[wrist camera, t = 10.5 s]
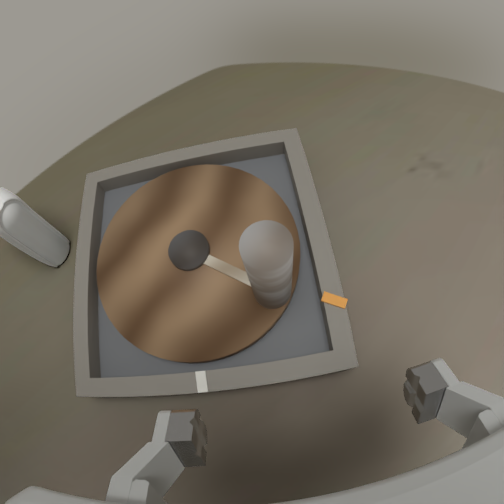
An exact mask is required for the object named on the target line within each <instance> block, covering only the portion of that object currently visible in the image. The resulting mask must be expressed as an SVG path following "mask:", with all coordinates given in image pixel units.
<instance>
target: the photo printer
mask: <svg viewBox="0 0 504 504" xmlns="http://www.w3.org/2000/svg"><path fill="white" fill-rule="evenodd" d="M0 237H2V238H3V239H4V240H6V241H7V242H9V243H10V244H12V245H13V246H15V247H16V248H18V249H20V250H21V251H23V252H24V253H26V254H28V255H29V256H31V257H33V258H35V259H37V260H38V261H40V262H42V263H45V264H47V265H49V266H53V267H57V266H58V265H61V264H62V263H63V262H64V261H65V259H66V257H67V255H68V253H69V249H70V245H69V242H70V241H69V240H68V239H67V238H66V237H65V236H64V235H63V234H62V233H60V232H59V231H58V230H57V229H56V228H54V227H53V226H52V225H51V224H49V223H48V222H47V221H46V220H45V219H43V218H42V217H41V216H40V215H39V214H37V213H36V212H35V211H34V210H33V209H32V208H30V207H29V206H28V205H27V204H26V203H25V202H24V201H23V200H22V199H20V198H19V197H18V196H17V195H16V194H14V193H12V192H11V191H9V190H7V189H5V188H3V187H1V186H0Z"/></svg>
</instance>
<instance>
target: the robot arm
mask: <svg viewBox="0 0 504 504" xmlns="http://www.w3.org/2000/svg"><path fill="white" fill-rule="evenodd" d="M406 377H407V381H406V382H405V383H404V388H403V391H404V397H405V400H406V402H407V404H408V405H409V406H411V407H413V410H412V414H413V416H414V418H415V420H416V421H417V423H418V424H419V423H422V422H425V421H428V420H431V419H434V418H436V419H437V420H439V421H441V422H442V423H444V424H445V425H447V426H448V427H450V428H452V429H453V430H455V431H456V432H458V433H460V434H461V435H463V436H464V437H466V438H467V440H466V442H465V444H464V445H463V447H462V449H461V450H459V451H457V452H454V453H452V454H450V455H448V456H445V457H443V458H441V459H438V460H436V461H434V462H431V463H429V464H426V465H424V466H421V467H418V468H416V469H413V470H410V471H407V472H405V473H402V474H399V475H396V476H393V477H390V478H387V479H383V480H380V481H377V482H373V483H370V484H366V485H363V486H359V487H355V488H351V489H347V490H343V491H339V492H335V493H330V494H325V495H320V496H315V497H310V498H304V499H299V500H292V501H286V502H278V503H270V504H504V398H503V397H501V396H498V395H496V394H493V393H491V392H488V391H486V390H483V389H481V388H478V387H476V386H473V385H471V384H468V383H466V382H464V381H462V382H459V380H458V379H457V378H456V376H455V375H454V373H453V372H452V371H451V369H450V368H449V367H448V365H447V364H446V363H445V361H444V360H443V359H442V358H438V359H435V360H432V361H430V362H426V363H423V364H420V365H417V366H414V367H411V368H408V369H407V371H406ZM206 444H207V430H206V426H205V424H204V422H203V421H201V420H200V413H199V411H198V409H189V410H165V411H160V412H159V413H158V415H157V420H156V424H155V429H154V433H153V437H152V442H148V443H147V444H146V445H145V446H144V447H143V448H142V449H140V450H139V451H138V452H137V453H136V454H135V455H134V456H133V457H132V458H131V459H130V460H129V461H128V462H127V463H126V464H125V465H123V466H122V467H121V468H120V469H119V470H118V471H117V472H116V473H115V474H114V475H113V476H112V477H111V481H110V484H109V488H108V492H107V496H106V500H105V501H103V500H97V499H91V498H86V497H80V496H76V495H71V494H66V493H62V492H58V491H54V490H50V489H46V488H43V487H39V486H29V487H27V488H25V489H24V490H22V491H21V492H19V493H17V494H16V495H15V496H13V497H12V498H10V499H9V500H7V501H6V502H5V504H168V503H167V502H166V501H165V500H164V499H163V498H162V497H163V496H164V495H165V494H166V492H167V491H168V490H169V488H170V487H171V486H172V484H173V483H174V482H175V481H176V479H177V478H178V477H179V475H180V474H181V473H182V471H183V470H184V469H185V467H193V466H206V450H205V449H204V446H205V445H206Z"/></svg>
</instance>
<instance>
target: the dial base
mask: <svg viewBox="0 0 504 504" xmlns="http://www.w3.org/2000/svg"><path fill="white" fill-rule="evenodd" d="M205 164H209V165H222V166H229V167H233V168H236V169H240V170H243V171H245V172H248V173H250V174H252V175H254V176H256V177H257V178H259V179H261V180H262V181H264V182H265V183H266V184H268V185H269V186H270V187H271V188H273V190H274V191H275V192H276V193H277V194H278V195H279V196H280V197H281V198H282V200H283V201H284V202H285V204H286V205H287V207H288V208H289V210H290V212H291V214H292V216H293V218H294V221H295V224H296V227H297V230H298V235H299V241H300V265H299V274H298V280H297V284H296V287H295V291H294V293H293V296H292V298H291V301H290V303H289V305H288V306H287V308H286V310H285V312H284V313H283V315H282V317H281V318H280V319H279V320H278V322H277V323H276V324H275V325H274V327H273V328H272V329H271V330H270V331H269V332H268V333H267V334H266V335H265V336H264V337H262V338H261V339H260V340H259V341H257V342H256V343H254V344H253V345H252V346H250V347H249V348H247V349H245V350H243V351H241V352H239V353H238V354H235V355H233V356H230V357H227V358H225V359H221V360H217V361H212V362H207V363H180V362H175V361H170V360H166V359H162V358H159V357H156V356H153V355H151V354H148V353H146V352H144V351H142V350H141V349H139V348H137V347H136V346H134V345H133V344H132V343H130V342H129V341H128V340H126V339H125V338H124V337H123V336H122V335H121V334H120V333H119V331H118V330H117V329H116V328H115V327H114V325H113V324H112V322H111V321H110V319H109V318H108V316H107V314H106V312H105V310H104V308H103V305H102V302H101V299H100V296H99V291H98V286H97V273H96V270H97V258H98V253H99V249H100V245H101V242H102V239H103V236H104V234H105V232H106V229H107V227H108V225H109V223H110V222H111V220H112V218H113V217H114V215H115V214H116V212H117V211H118V210H119V208H120V207H121V206H122V205H123V203H124V202H125V201H126V200H127V199H128V198H129V197H130V196H131V195H132V194H133V193H135V192H136V191H137V190H138V189H139V188H141V187H142V186H144V185H145V184H146V183H148V182H149V181H151V180H153V179H155V178H157V177H158V176H160V175H163V174H165V173H168V172H170V171H173V170H176V169H179V168H183V167H188V166H193V165H205ZM347 300H348V299H346V298H344V294H343V290H342V286H341V282H340V278H339V273H338V269H337V265H336V261H335V257H334V254H333V250H332V246H331V242H330V238H329V234H328V231H327V227H326V223H325V220H324V216H323V213H322V209H321V206H320V202H319V199H318V195H317V192H316V188H315V185H314V182H313V178H312V175H311V172H310V168H309V165H308V162H307V159H306V156H305V152H304V149H303V146H302V143H301V140H300V137H299V134H298V131H297V128H293V129H286V130H279V131H272V132H266V133H260V134H253V135H248V136H242V137H236V138H231V139H225V140H220V141H215V142H210V143H205V144H200V145H196V146H191V147H187V148H182V149H178V150H173V151H169V152H165V153H161V154H157V155H153V156H149V157H145V158H141V159H137V160H134V161H130V162H126V163H123V164H119V165H116V166H112V167H109V168H105V169H102V170H99V171H95V172H92V173H89V174H87V176H86V181H85V188H84V194H83V200H82V207H81V215H80V223H79V232H78V241H77V252H76V265H75V281H74V310H73V340H74V368H75V384H76V396H78V397H140V396H163V395H179V394H192V393H203V392H213V391H223V390H231V389H240V388H247V387H254V386H261V385H268V384H274V383H281V382H287V381H292V380H298V379H303V378H309V377H314V376H319V375H324V374H329V373H333V372H338V371H342V370H347V369H351V368H355V367H359V366H358V360H357V355H356V350H355V345H354V340H353V335H352V331H351V326H350V321H349V317H348V312H347V308H346V303H347Z"/></svg>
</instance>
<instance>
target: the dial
mask: <svg viewBox="0 0 504 504" xmlns="http://www.w3.org/2000/svg"><path fill="white" fill-rule="evenodd" d="M299 265H300V241H299V235H298V230H297V227H296V224H295V221H294V218H293V216H292V214H291V212H290V210H289V208H288V207H287V205H286V204H285V202H284V201H283V200H282V198H281V197H280V196H279V195H278V194H277V193H276V192H275V191H274V190H273V188H271V187H270V186H269V185H268V184H266V183H265V182H264V181H262V180H261V179H259V178H257V177H256V176H254V175H252V174H250V173H248V172H245V171H243V170H240V169H236V168H233V167H229V166H222V165H209V164H205V165H193V166H188V167H183V168H179V169H176V170H173V171H170V172H168V173H165V174H163V175H160V176H158V177H157V178H155V179H153V180H151V181H149V182H148V183H146V184H145V185H144V186H142V187H141V188H139V189H138V190H137V191H136V192H135V193H133V194H132V195H131V196H130V197H129V198H128V199H127V200H126V201H125V202H124V203H123V205H122V206H121V207H120V208H119V210H118V211H117V212H116V214H115V215H114V217H113V218H112V220H111V222H110V223H109V225H108V227H107V229H106V232H105V234H104V236H103V239H102V242H101V245H100V249H99V253H98V258H97V270H96V273H97V286H98V291H99V296H100V299H101V302H102V305H103V308H104V310H105V312H106V314H107V316H108V318H109V319H110V321H111V322H112V324H113V325H114V327H115V328H116V329H117V330H118V331H119V333H120V334H121V335H122V336H123V337H124V338H125V339H126V340H128V341H129V342H130V343H132V344H133V345H134V346H136V347H137V348H139V349H141V350H142V351H144V352H146V353H148V354H151V355H153V356H156V357H159V358H162V359H166V360H170V361H175V362H180V363H207V362H212V361H217V360H221V359H225V358H227V357H230V356H233V355H235V354H238V353H239V352H241V351H243V350H245V349H247V348H249V347H250V346H252V345H253V344H254V343H256V342H257V341H259V340H260V339H261V338H262V337H264V336H265V335H266V334H267V333H268V332H269V331H270V330H271V329H272V328H273V327H274V325H275V324H276V323H277V322H278V320H279V319H280V318H281V317H282V315H283V313H284V312H285V310H286V308H287V306H288V305H289V303H290V301H291V298H292V296H293V293H294V291H295V287H296V284H297V280H298V274H299Z"/></svg>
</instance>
